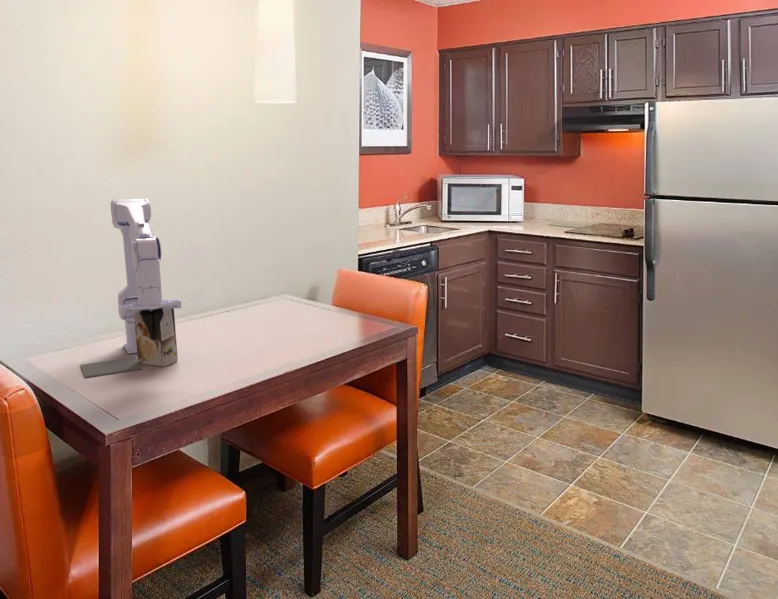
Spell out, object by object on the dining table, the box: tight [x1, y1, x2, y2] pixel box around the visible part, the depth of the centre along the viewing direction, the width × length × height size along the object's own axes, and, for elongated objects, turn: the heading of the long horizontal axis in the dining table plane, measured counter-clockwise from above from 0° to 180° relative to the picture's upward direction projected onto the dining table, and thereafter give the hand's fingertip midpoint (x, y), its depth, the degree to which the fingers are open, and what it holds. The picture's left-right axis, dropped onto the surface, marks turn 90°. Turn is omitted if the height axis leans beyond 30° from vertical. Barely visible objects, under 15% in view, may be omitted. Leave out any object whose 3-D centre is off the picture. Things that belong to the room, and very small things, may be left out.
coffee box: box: [134, 308, 179, 368], centre depth 186 cm, size 9×6×16 cm
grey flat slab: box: [80, 356, 143, 379], centre depth 183 cm, size 11×14×1 cm
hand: (153, 338), depth 173 cm, fingers closed
